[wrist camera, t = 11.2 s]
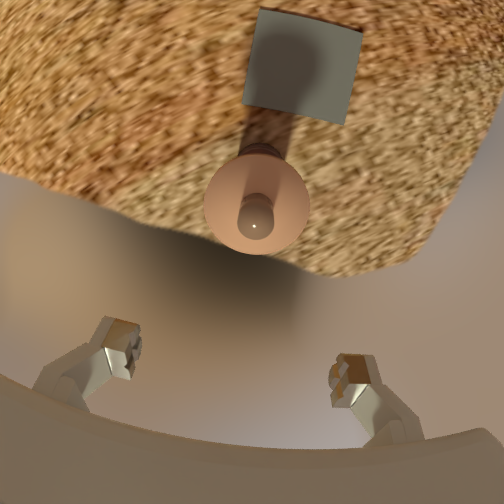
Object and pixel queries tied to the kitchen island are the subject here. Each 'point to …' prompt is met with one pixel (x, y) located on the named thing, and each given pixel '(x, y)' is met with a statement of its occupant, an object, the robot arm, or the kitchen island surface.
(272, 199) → the lid
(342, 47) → the mat
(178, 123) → the kitchen island surface
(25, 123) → the kitchen island surface
